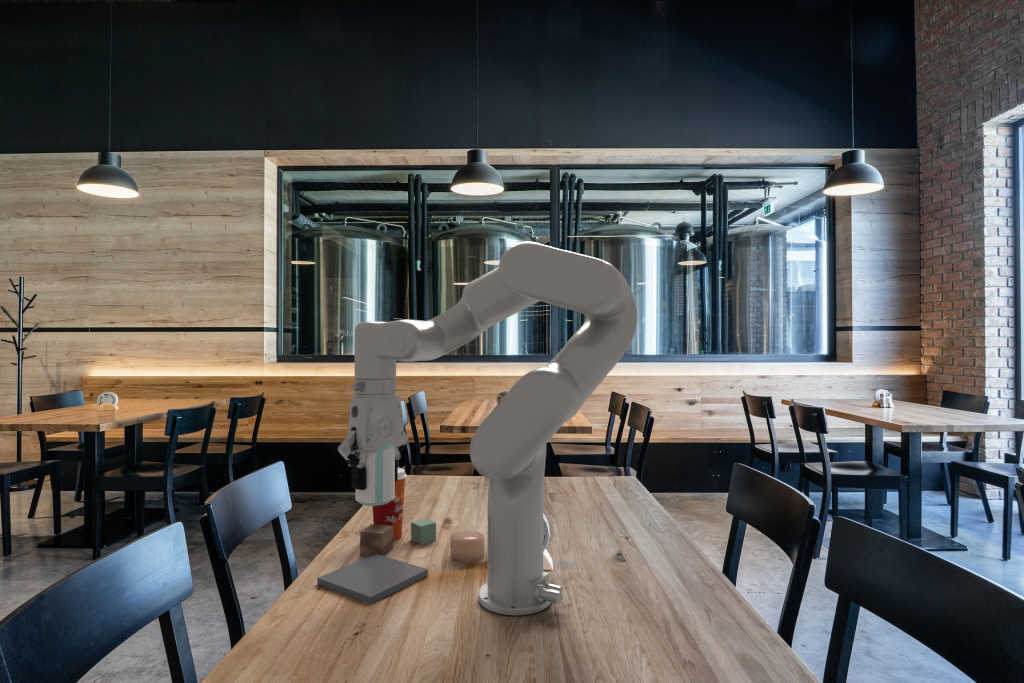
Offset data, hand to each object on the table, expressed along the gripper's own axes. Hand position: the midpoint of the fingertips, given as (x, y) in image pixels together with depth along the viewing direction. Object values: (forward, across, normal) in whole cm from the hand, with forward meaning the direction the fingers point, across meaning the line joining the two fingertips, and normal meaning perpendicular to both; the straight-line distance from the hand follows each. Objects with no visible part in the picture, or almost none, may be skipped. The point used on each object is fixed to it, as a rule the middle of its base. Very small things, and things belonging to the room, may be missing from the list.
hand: (375, 483), depth 102 cm
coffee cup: (+18, +18, +15) cm, 29 cm away
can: (+4, 0, 0) cm, 4 cm away
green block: (+18, +21, +7) cm, 28 cm away
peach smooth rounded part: (+18, +19, -7) cm, 27 cm away
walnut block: (+18, +10, +10) cm, 23 cm away
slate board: (+18, 0, 0) cm, 18 cm away
